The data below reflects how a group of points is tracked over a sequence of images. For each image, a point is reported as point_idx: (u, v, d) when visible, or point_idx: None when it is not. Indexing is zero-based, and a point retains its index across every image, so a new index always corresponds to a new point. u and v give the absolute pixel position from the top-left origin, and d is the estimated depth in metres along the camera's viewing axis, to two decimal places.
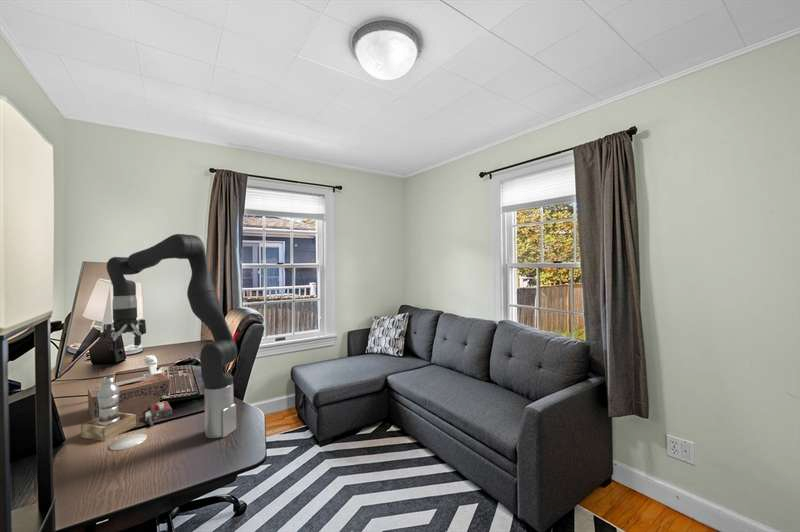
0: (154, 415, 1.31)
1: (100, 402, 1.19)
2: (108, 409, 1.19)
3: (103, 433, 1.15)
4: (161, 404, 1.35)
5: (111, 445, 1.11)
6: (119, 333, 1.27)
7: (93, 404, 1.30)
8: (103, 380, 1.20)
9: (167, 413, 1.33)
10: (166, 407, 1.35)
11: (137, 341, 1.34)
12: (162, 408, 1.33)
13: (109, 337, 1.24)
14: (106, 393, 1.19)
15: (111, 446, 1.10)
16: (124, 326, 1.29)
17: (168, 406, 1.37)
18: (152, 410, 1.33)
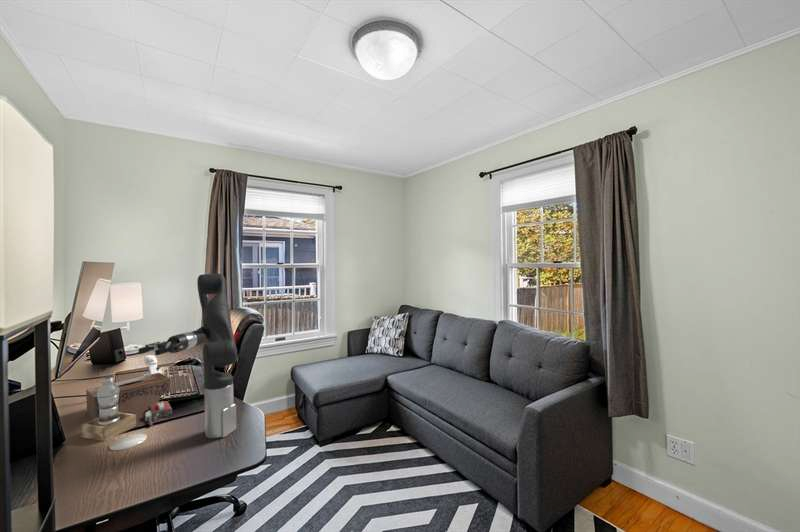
0: (154, 415, 1.31)
1: (100, 402, 1.19)
2: (108, 409, 1.19)
3: (103, 433, 1.15)
4: (161, 404, 1.35)
5: (111, 445, 1.11)
6: (155, 343, 1.39)
7: (95, 404, 1.30)
8: (103, 380, 1.20)
9: (167, 413, 1.33)
10: (166, 407, 1.35)
11: None
12: (162, 408, 1.33)
13: None
14: (106, 393, 1.19)
15: (111, 446, 1.10)
16: (164, 341, 1.41)
17: (169, 406, 1.37)
18: (152, 410, 1.33)
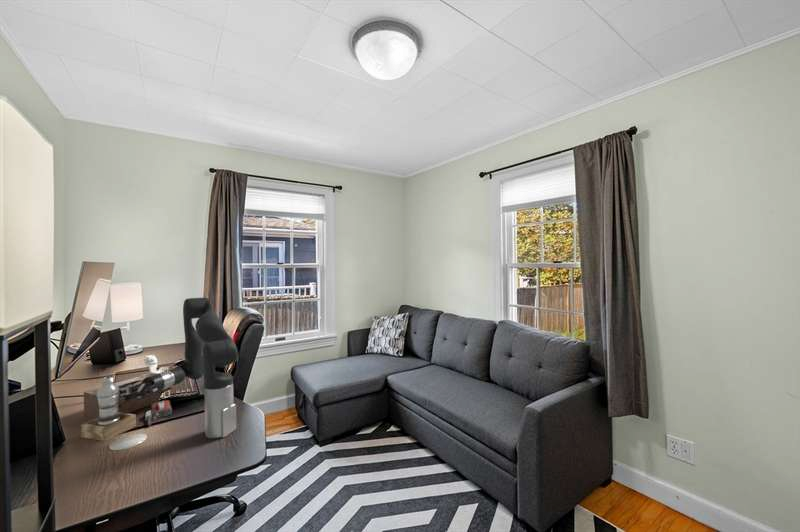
0: (154, 415, 1.31)
1: (100, 402, 1.19)
2: (108, 409, 1.19)
3: (103, 433, 1.15)
4: (161, 404, 1.35)
5: (111, 445, 1.11)
6: (128, 386, 1.31)
7: None
8: (103, 380, 1.20)
9: (167, 413, 1.33)
10: (166, 407, 1.35)
11: None
12: (162, 408, 1.33)
13: (120, 387, 1.31)
14: (106, 393, 1.19)
15: (111, 446, 1.10)
16: None
17: (169, 405, 1.37)
18: (153, 409, 1.34)
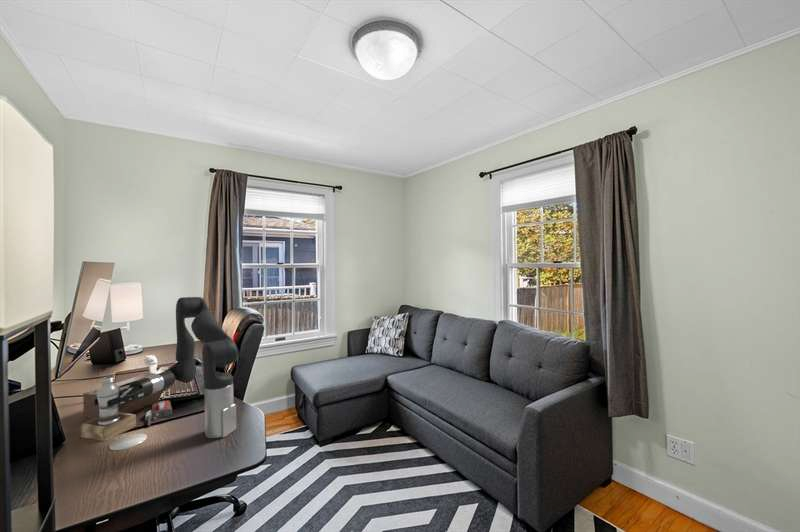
0: (154, 415, 1.31)
1: (100, 402, 1.19)
2: (108, 409, 1.19)
3: (103, 433, 1.15)
4: (162, 404, 1.36)
5: (111, 445, 1.11)
6: None
7: None
8: (103, 380, 1.20)
9: (167, 413, 1.33)
10: (166, 407, 1.35)
11: None
12: (162, 408, 1.33)
13: None
14: (106, 393, 1.19)
15: (111, 446, 1.10)
16: (125, 388, 1.28)
17: (169, 406, 1.37)
18: (153, 409, 1.34)
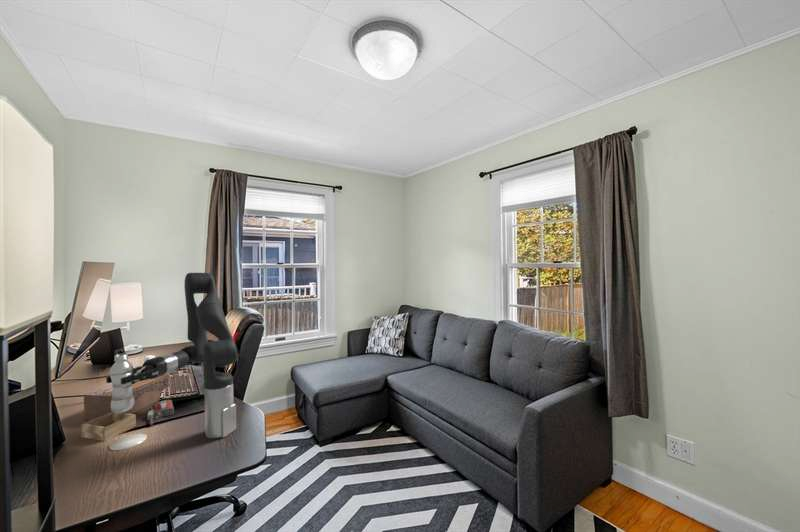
0: (156, 414, 1.31)
1: (113, 380, 1.12)
2: (122, 387, 1.13)
3: (103, 433, 1.15)
4: (164, 403, 1.36)
5: (111, 445, 1.11)
6: None
7: None
8: (116, 357, 1.13)
9: (168, 412, 1.33)
10: (168, 406, 1.36)
11: None
12: (164, 407, 1.34)
13: None
14: (119, 370, 1.13)
15: (111, 446, 1.10)
16: (138, 366, 1.22)
17: (171, 405, 1.38)
18: (155, 409, 1.34)
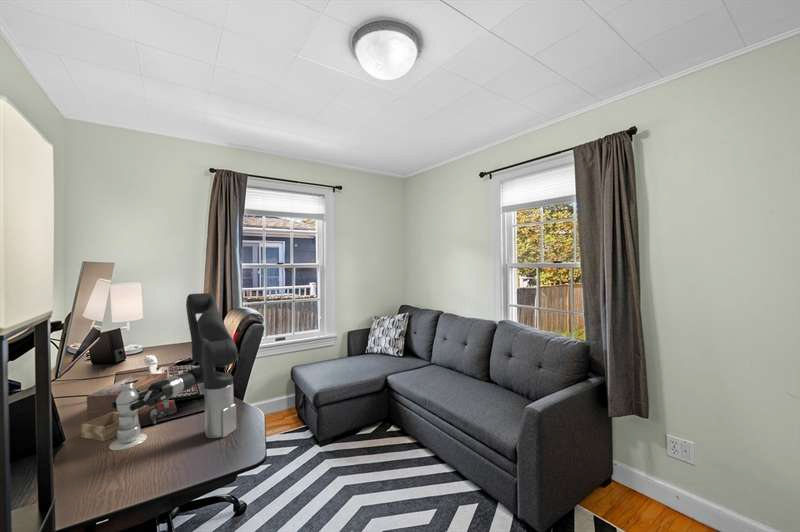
0: (159, 413, 1.32)
1: (119, 410, 1.11)
2: (128, 417, 1.12)
3: (103, 433, 1.15)
4: (166, 402, 1.37)
5: (111, 445, 1.11)
6: None
7: None
8: (122, 386, 1.12)
9: (171, 412, 1.34)
10: (171, 405, 1.37)
11: None
12: (167, 406, 1.35)
13: None
14: (125, 400, 1.11)
15: (111, 446, 1.10)
16: (144, 390, 1.21)
17: (174, 404, 1.38)
18: (157, 408, 1.35)
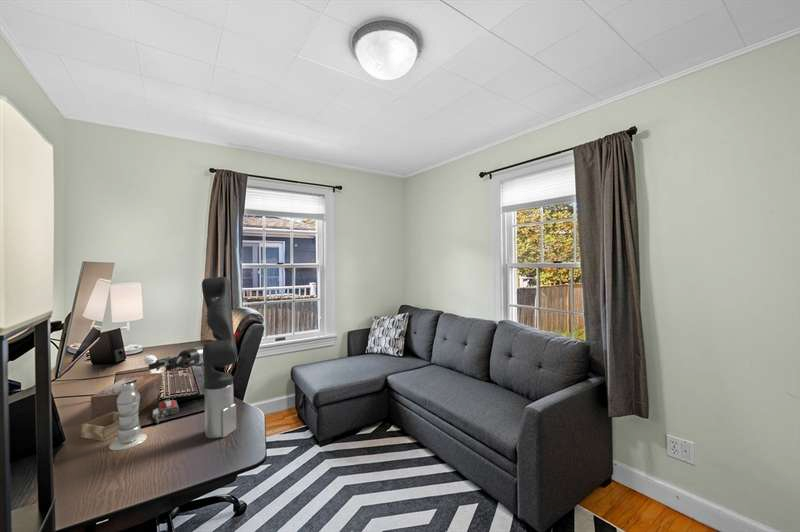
0: (161, 413, 1.33)
1: (120, 409, 1.11)
2: (128, 417, 1.12)
3: (103, 433, 1.15)
4: (168, 402, 1.37)
5: (111, 445, 1.11)
6: (166, 358, 1.35)
7: None
8: (123, 386, 1.12)
9: (174, 411, 1.35)
10: (173, 405, 1.37)
11: None
12: (169, 406, 1.35)
13: (158, 360, 1.35)
14: (126, 399, 1.11)
15: (111, 446, 1.10)
16: (175, 356, 1.37)
17: (176, 404, 1.39)
18: (160, 407, 1.35)
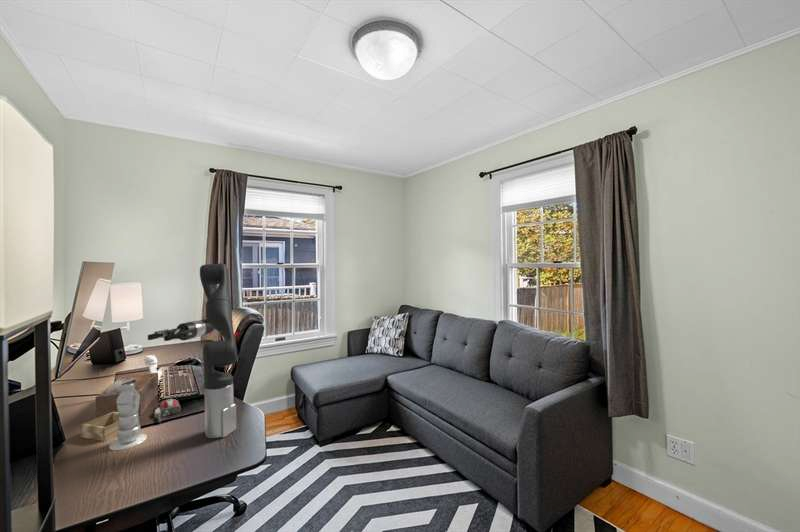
0: (163, 412, 1.33)
1: (120, 410, 1.11)
2: (128, 417, 1.12)
3: (103, 433, 1.15)
4: (170, 401, 1.38)
5: (111, 445, 1.11)
6: (165, 330, 1.39)
7: (141, 398, 1.35)
8: (123, 386, 1.12)
9: (176, 410, 1.35)
10: (175, 404, 1.38)
11: None
12: (171, 405, 1.36)
13: (157, 331, 1.39)
14: (126, 400, 1.11)
15: (111, 446, 1.10)
16: None
17: (177, 403, 1.39)
18: (161, 407, 1.36)
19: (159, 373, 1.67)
